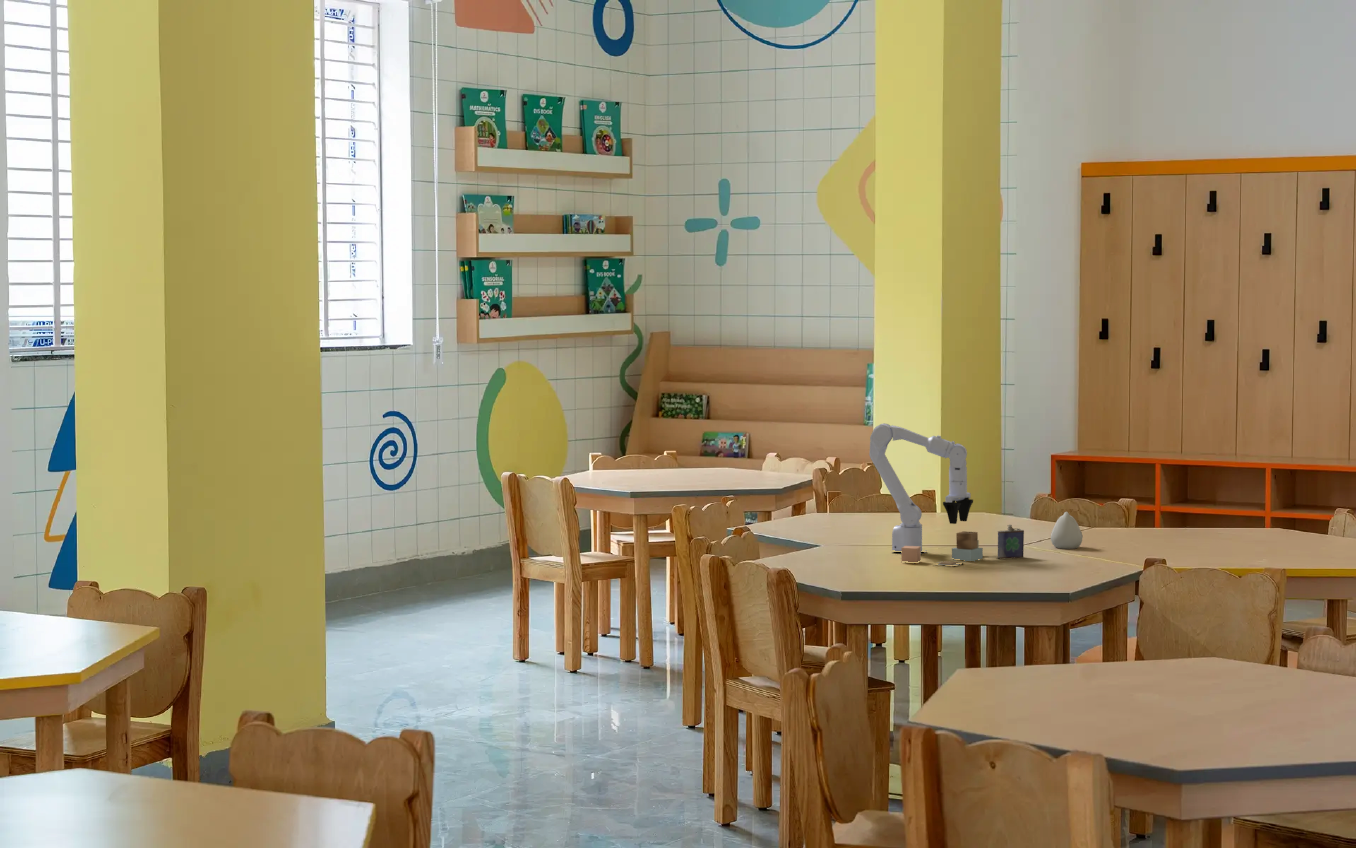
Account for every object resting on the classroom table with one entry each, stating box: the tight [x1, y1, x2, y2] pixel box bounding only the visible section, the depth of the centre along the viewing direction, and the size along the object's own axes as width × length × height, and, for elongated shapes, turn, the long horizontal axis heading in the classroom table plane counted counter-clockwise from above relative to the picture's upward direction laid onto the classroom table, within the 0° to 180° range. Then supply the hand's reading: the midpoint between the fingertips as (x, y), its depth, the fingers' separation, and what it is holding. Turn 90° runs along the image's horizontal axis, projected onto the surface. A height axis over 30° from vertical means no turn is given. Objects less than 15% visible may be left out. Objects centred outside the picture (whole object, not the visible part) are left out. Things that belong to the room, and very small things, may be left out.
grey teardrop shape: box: [1050, 511, 1084, 550], centre depth 488 cm, size 10×10×12 cm
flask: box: [997, 524, 1025, 560], centre depth 466 cm, size 9×3×11 cm, turn 109°
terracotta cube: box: [901, 546, 922, 562], centre depth 459 cm, size 5×5×5 cm
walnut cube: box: [955, 531, 979, 550], centre depth 463 cm, size 5×5×5 cm
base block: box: [951, 547, 984, 562], centre depth 464 cm, size 7×7×4 cm
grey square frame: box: [938, 560, 960, 566], centre depth 453 cm, size 7×7×1 cm
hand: (958, 522), depth 476 cm, fingers open, 7 cm apart
